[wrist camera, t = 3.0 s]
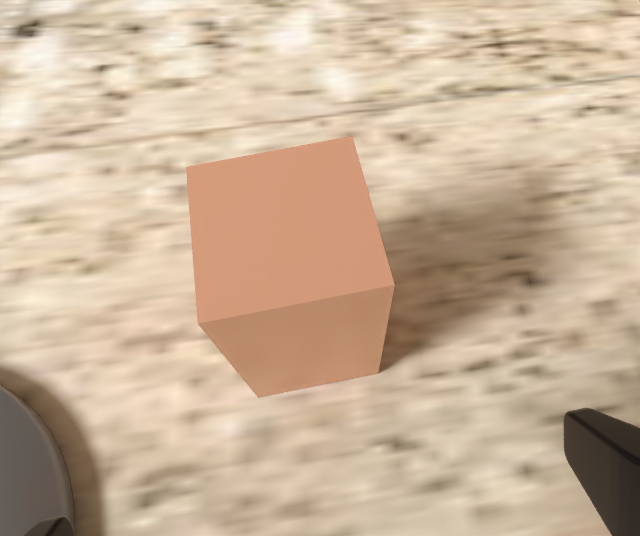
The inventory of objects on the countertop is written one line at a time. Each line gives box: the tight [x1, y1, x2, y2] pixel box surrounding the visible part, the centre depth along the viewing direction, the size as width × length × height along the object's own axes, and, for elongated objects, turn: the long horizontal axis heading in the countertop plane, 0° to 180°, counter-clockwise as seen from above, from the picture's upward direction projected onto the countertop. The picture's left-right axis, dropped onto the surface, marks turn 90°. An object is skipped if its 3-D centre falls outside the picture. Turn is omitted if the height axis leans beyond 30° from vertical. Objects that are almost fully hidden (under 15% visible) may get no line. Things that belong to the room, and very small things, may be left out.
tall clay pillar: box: [186, 136, 395, 398], centre depth 20 cm, size 6×6×10 cm
